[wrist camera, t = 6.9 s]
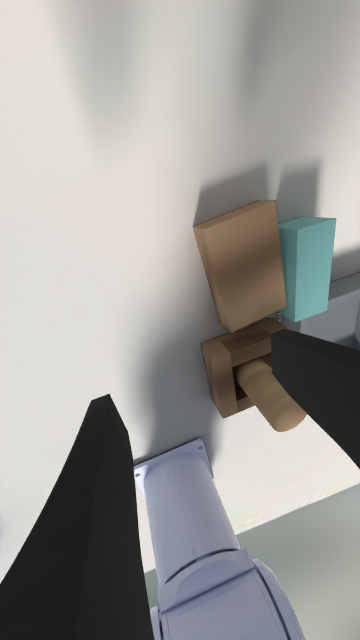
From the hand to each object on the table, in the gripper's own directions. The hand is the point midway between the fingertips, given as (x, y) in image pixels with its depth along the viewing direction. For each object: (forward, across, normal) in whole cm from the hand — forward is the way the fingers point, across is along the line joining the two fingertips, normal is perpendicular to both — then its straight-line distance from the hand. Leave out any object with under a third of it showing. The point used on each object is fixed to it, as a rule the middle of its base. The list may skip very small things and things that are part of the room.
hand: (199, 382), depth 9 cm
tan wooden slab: (+10, -7, 0) cm, 12 cm away
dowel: (+10, -6, +9) cm, 15 cm away
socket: (+10, -6, +9) cm, 15 cm away
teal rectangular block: (+10, -12, +1) cm, 15 cm away
